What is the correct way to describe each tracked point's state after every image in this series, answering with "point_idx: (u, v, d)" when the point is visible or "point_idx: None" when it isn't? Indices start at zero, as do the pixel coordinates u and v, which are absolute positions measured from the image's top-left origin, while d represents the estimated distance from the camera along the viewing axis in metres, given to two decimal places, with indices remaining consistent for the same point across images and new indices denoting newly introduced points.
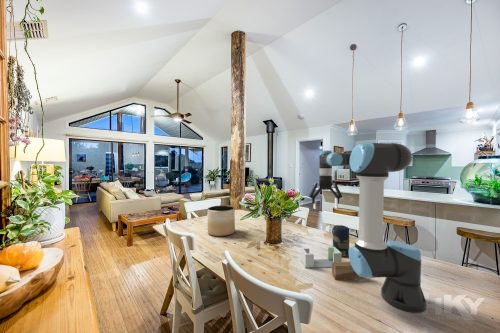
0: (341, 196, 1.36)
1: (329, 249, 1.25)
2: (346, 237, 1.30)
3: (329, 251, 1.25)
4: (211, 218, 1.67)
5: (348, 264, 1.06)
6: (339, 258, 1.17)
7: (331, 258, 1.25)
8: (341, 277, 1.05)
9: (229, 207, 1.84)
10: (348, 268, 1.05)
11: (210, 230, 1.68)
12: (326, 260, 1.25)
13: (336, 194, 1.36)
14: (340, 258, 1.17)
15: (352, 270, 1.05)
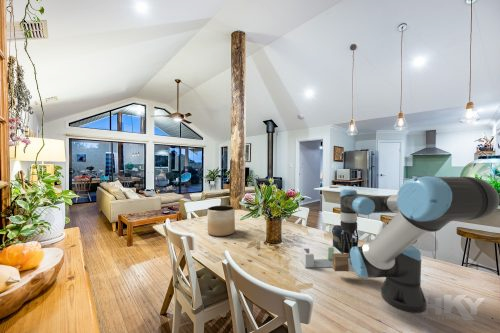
0: None
1: (329, 249, 1.25)
2: None
3: (329, 251, 1.25)
4: (211, 218, 1.67)
5: (348, 256, 1.06)
6: None
7: (331, 258, 1.25)
8: (341, 268, 1.05)
9: (229, 207, 1.84)
10: None
11: (210, 230, 1.68)
12: (326, 260, 1.25)
13: (349, 251, 1.04)
14: None
15: None
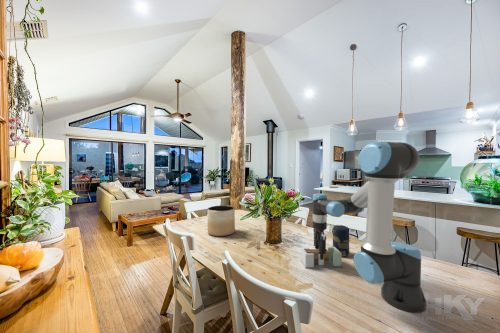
0: (320, 252, 1.16)
1: (329, 249, 1.25)
2: (346, 237, 1.30)
3: (329, 251, 1.25)
4: (211, 218, 1.67)
5: None
6: (339, 258, 1.17)
7: (331, 258, 1.25)
8: None
9: (229, 207, 1.84)
10: None
11: (210, 230, 1.68)
12: None
13: (319, 248, 1.18)
14: (340, 258, 1.17)
15: None
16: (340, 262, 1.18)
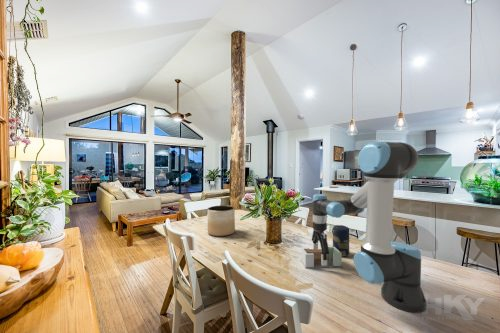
0: (323, 252, 1.12)
1: (329, 249, 1.25)
2: (346, 237, 1.30)
3: (329, 251, 1.25)
4: (211, 218, 1.67)
5: (319, 251, 1.21)
6: (339, 258, 1.17)
7: (331, 258, 1.25)
8: None
9: (229, 207, 1.84)
10: (319, 254, 1.20)
11: (210, 230, 1.68)
12: None
13: (321, 248, 1.15)
14: (340, 258, 1.17)
15: None
16: (340, 262, 1.18)
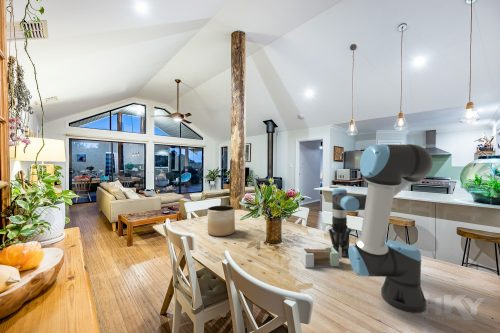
0: (345, 245, 1.21)
1: None
2: None
3: None
4: (211, 218, 1.67)
5: (319, 251, 1.21)
6: (336, 258, 1.17)
7: None
8: None
9: (229, 207, 1.84)
10: (319, 254, 1.20)
11: (210, 230, 1.68)
12: None
13: (343, 242, 1.21)
14: (337, 258, 1.17)
15: (322, 256, 1.20)
16: (337, 262, 1.17)
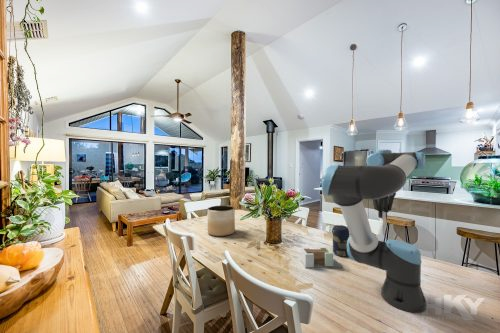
0: (390, 209, 1.13)
1: None
2: (346, 237, 1.30)
3: None
4: (211, 218, 1.67)
5: (319, 251, 1.21)
6: (331, 258, 1.17)
7: None
8: None
9: (229, 207, 1.84)
10: (319, 254, 1.20)
11: (210, 230, 1.68)
12: None
13: (387, 206, 1.13)
14: (332, 258, 1.17)
15: (322, 256, 1.20)
16: (332, 262, 1.17)
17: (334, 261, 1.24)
